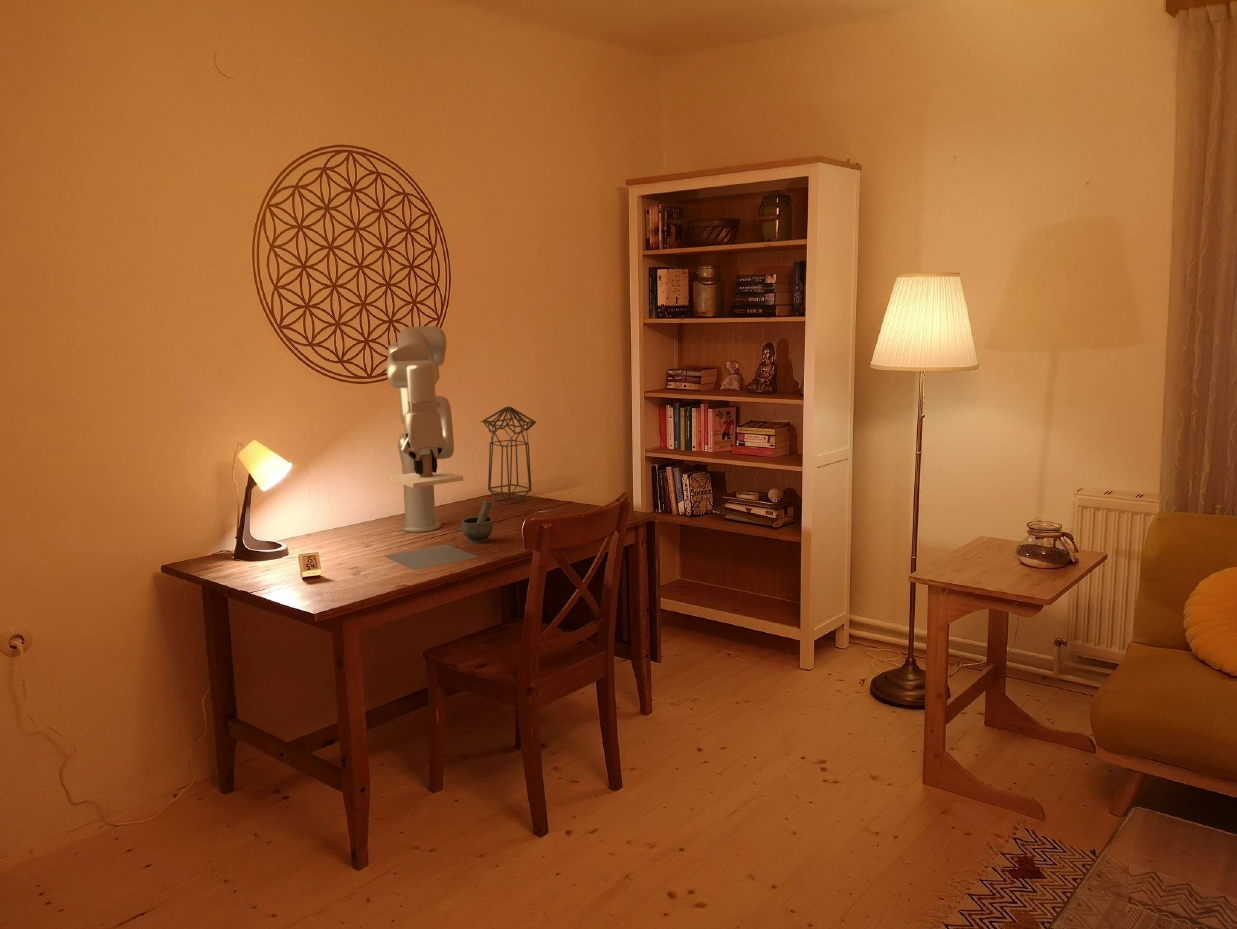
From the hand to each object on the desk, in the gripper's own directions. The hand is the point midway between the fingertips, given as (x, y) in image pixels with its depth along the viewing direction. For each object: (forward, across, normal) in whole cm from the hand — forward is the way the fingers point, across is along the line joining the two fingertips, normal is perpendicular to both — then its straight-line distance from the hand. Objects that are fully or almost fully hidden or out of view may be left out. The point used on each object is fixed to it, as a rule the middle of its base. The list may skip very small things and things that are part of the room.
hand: (426, 472), depth 268 cm
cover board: (+2, 0, 0) cm, 2 cm away
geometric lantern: (+25, -59, -55) cm, 84 cm away
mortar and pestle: (+25, -20, -8) cm, 33 cm away
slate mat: (+25, 0, 0) cm, 25 cm away
